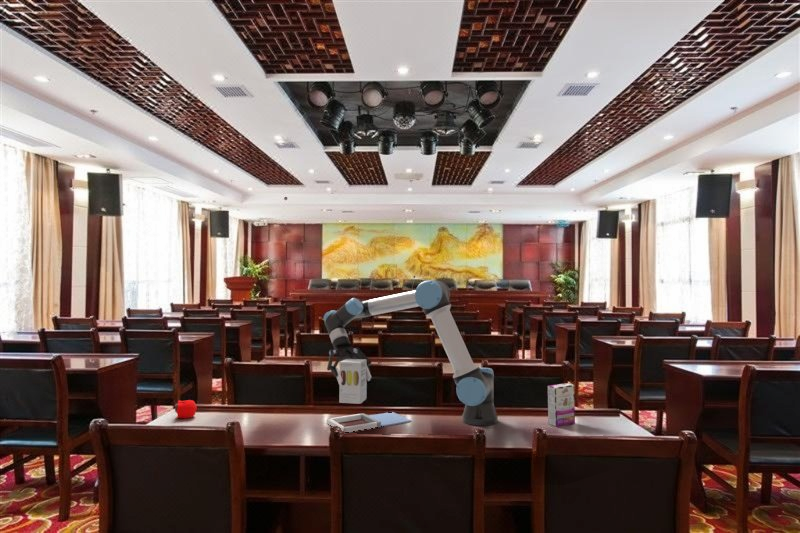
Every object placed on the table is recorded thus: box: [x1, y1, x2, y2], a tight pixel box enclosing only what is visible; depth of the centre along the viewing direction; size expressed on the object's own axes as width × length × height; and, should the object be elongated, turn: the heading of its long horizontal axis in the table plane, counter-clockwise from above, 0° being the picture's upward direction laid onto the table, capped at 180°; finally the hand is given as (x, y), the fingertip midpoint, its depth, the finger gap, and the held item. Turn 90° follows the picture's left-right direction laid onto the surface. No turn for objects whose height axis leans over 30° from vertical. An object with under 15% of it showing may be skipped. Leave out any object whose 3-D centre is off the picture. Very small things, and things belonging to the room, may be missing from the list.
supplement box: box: [338, 358, 368, 405], centre depth 201 cm, size 10×9×17 cm
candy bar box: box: [547, 382, 576, 428], centre depth 204 cm, size 11×5×16 cm, turn 117°
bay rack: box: [326, 411, 412, 433], centre depth 204 cm, size 16×32×2 cm, turn 122°
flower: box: [176, 399, 198, 419], centre depth 211 cm, size 8×8×8 cm
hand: (355, 380), depth 199 cm, fingers closed on supplement box, 13 cm apart
